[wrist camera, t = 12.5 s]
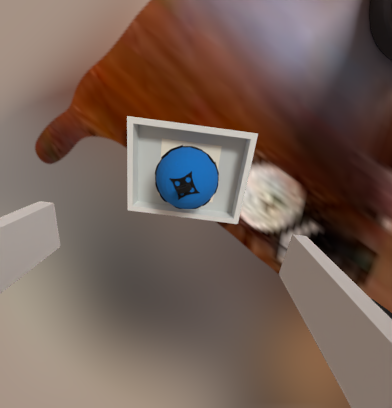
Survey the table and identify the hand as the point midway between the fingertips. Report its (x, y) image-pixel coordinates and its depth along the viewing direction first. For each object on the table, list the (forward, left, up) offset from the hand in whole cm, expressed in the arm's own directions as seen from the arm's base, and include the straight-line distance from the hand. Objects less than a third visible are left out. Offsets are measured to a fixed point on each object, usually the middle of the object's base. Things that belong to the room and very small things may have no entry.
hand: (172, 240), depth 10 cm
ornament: (0, 0, -20) cm, 20 cm away
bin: (0, 0, -21) cm, 21 cm away
